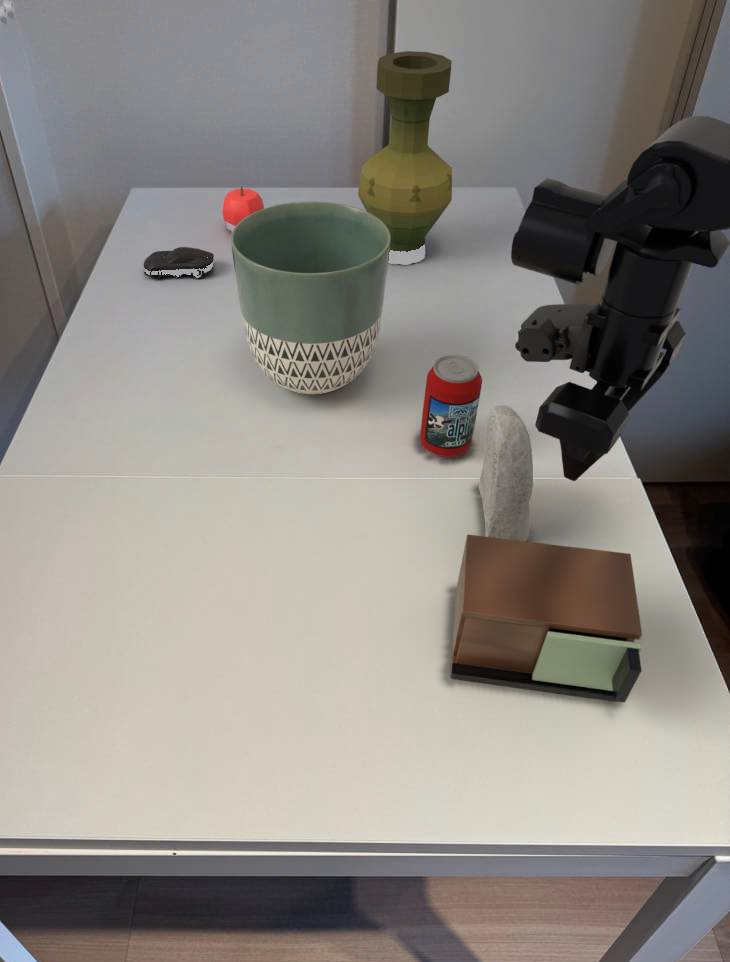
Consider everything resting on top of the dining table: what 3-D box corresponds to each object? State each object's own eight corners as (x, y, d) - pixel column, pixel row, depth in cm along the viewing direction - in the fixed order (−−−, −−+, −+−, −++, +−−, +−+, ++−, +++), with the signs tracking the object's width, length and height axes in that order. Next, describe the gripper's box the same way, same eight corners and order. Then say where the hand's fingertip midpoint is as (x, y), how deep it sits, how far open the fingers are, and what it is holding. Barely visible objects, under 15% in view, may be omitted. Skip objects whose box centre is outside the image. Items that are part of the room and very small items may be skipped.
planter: (225, 410, 106) (208, 263, 90) (266, 334, 119) (257, 194, 104) (366, 431, 103) (373, 283, 87) (392, 351, 116) (403, 209, 100)
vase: (336, 248, 139) (339, 58, 117) (403, 224, 145) (417, 40, 123) (396, 284, 130) (411, 86, 108) (465, 257, 136) (491, 65, 114)
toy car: (147, 264, 134) (143, 243, 132) (216, 263, 135) (213, 242, 132) (143, 281, 130) (139, 259, 128) (214, 279, 131) (211, 258, 128)
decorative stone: (467, 484, 96) (486, 384, 85) (515, 485, 96) (540, 384, 85) (479, 549, 88) (501, 448, 77) (531, 549, 88) (560, 448, 77)
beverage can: (429, 465, 98) (440, 387, 89) (411, 433, 103) (419, 355, 94) (478, 456, 99) (493, 378, 91) (458, 424, 104) (471, 347, 95)
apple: (235, 218, 147) (232, 175, 141) (273, 225, 145) (271, 182, 139) (215, 235, 142) (211, 192, 136) (254, 243, 140) (251, 199, 134)
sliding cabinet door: (618, 686, 74) (640, 643, 69) (621, 713, 72) (644, 670, 67) (532, 674, 75) (547, 631, 70) (532, 701, 73) (548, 658, 68)
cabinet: (606, 609, 82) (630, 553, 76) (616, 701, 74) (644, 647, 68) (455, 590, 84) (467, 534, 77) (450, 678, 76) (462, 623, 70)
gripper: (587, 228, 69) (550, 374, 80) (493, 319, 58) (465, 472, 70) (714, 263, 64) (655, 412, 76) (635, 368, 54) (581, 523, 65)
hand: (589, 451), depth 72 cm, fingers open, 9 cm apart
